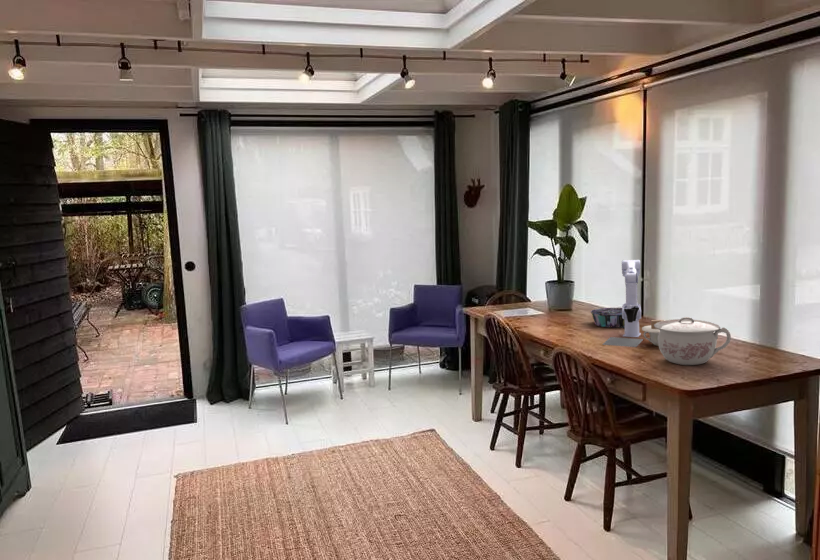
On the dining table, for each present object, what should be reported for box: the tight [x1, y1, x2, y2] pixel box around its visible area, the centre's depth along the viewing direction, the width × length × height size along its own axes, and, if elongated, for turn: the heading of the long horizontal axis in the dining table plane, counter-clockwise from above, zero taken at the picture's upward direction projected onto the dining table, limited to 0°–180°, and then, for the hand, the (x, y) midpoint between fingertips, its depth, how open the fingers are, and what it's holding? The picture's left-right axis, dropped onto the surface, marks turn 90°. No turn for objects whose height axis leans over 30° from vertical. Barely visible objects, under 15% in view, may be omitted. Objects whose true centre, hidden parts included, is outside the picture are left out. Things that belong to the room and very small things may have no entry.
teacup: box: [643, 331, 659, 347], centre depth 307 cm, size 14×11×8 cm
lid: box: [641, 319, 665, 333], centre depth 307 cm, size 15×15×5 cm
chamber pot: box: [654, 316, 732, 366], centre depth 274 cm, size 28×28×21 cm
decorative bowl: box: [590, 307, 625, 328], centre depth 361 cm, size 26×28×10 cm
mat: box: [602, 336, 644, 348], centre depth 317 cm, size 18×17×1 cm
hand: (631, 321), depth 317 cm, fingers open, 7 cm apart
